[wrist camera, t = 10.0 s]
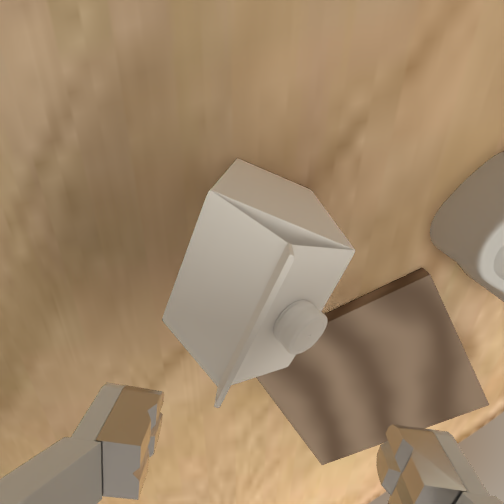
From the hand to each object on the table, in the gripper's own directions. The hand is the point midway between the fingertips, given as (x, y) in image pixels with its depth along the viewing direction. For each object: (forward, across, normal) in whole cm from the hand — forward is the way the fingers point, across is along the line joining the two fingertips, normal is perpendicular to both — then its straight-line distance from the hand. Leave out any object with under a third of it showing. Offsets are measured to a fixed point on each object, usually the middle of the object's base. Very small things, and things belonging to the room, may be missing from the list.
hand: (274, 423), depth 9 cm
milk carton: (+22, +1, 0) cm, 22 cm away
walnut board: (+22, -14, +16) cm, 30 cm away
